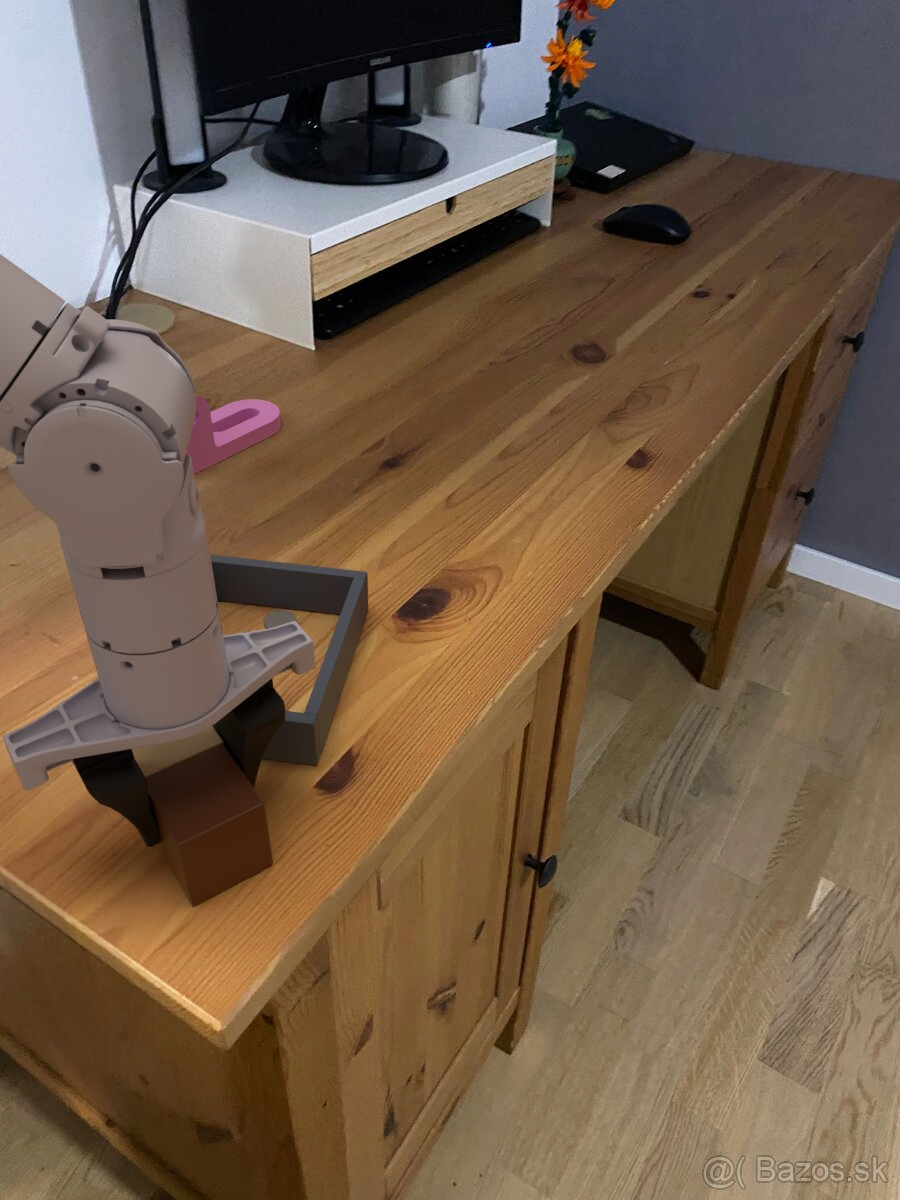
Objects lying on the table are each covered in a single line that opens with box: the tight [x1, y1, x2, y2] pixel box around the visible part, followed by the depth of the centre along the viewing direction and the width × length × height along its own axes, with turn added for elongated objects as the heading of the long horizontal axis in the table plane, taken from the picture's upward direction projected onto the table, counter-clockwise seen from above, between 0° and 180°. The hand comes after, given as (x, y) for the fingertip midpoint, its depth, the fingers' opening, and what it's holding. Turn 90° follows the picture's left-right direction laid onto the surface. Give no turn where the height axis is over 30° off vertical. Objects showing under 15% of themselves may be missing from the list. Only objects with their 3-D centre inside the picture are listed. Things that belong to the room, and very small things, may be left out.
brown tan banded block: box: [132, 726, 274, 907], centre depth 48 cm, size 5×9×5 cm, turn 36°
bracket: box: [186, 393, 282, 475], centre depth 81 cm, size 13×6×7 cm, turn 142°
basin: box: [210, 554, 369, 766], centre depth 58 cm, size 12×15×4 cm
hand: (195, 809), depth 49 cm, fingers closed on brown tan banded block, 4 cm apart
